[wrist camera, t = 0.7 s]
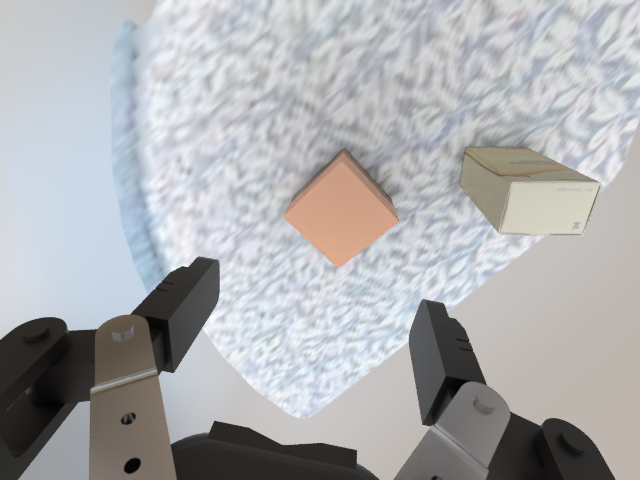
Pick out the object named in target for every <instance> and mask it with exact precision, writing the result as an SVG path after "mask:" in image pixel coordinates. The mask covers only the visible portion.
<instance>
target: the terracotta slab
mask: <svg viewBox="0 0 640 480" xmlns="http://www.w3.org/2000/svg"><path fill="white" fill-rule="evenodd" d="M283 217H284V218H285V219H286V220H287V221H288V222H289V223H290V224H291V225H293V226H294V227H295V228H296V229H297V230H298V231H299V232H300V233H301V234H302V235H303V236H304V237H305V238H306V239H307V240H309V241H310V242H311V243H312V244H313V245H314V246H315V247H316V248H317V249H318V250H319V251H320V252H321V253H322V254H323V255H325V256H326V257H327V258H328V259H329V260H330V261H331V262H332V263H333V264H334V265H335V266H336V267H337V268H338V269H339V268H340V267H341V266H342V265H344V264H345V263H346V262H348V261H349V260H350V259H351V258H353V257H354V256H355V255H357V254H358V253H359V252H360V251H362V250H363V249H364V248H366V247H367V246H368V245H370V244H371V243H372V242H373V241H375V240H376V239H377V238H379V237H380V236H381V235H382V234H384V233H385V232H386V231H388V230H389V229H390V228H391V227H393V226H394V225H395V224H397V223H398V222H399V220H398V216H397V212H396V209H395V207H394V206H393V205H392V204H391V203H390V202H389V201H388V200H387V199H386V198H385V197H384V196H383V195H382V194H381V192H380V191H379V190H378V189H377V188H376V187H375V186H374V185H373V184H372V183H371V182H370V181H369V180H368V178H367V177H366V176H365V175H364V174H363V173H362V172H361V171H360V170H359V169H358V168H357V167H356V166H355V165H354V163H353V162H352V161H351V160H350V159H349V158H348V157H347V156H346V155H345V154H344V153H343V154H342V155H341V156H340V157H339V158H338V159H336V160H335V161H334V162H333V163H332V164H331V165H330V166H329V167H328V168H327V169H326V170H325V171H324V172H323V173H322V174H321V175H320V176H319V177H318V178H317V179H316V180H315V181H314V182H312V183H311V184H310V185H309V186H308V187H307V188H306V189H305V190H304V191H303V192H302V193H301V194H300V195H299V196H298V197H297V198H296V199H295V200H294V201H293V202H292V203H291V204H290V205H289V207H288V208H287V210H286V212H285V214H284V216H283Z"/></svg>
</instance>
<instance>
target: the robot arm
mask: <svg viewBox="0 0 640 480" xmlns="http://www.w3.org/2000/svg"><path fill="white" fill-rule="evenodd" d="M219 292H220V271H219V261H218V260H216V259H210V258H205V257H200V256H199V257H197V258H196V259H195V260H194V261H193V263H192V264H191V265H190V266H189V267H184V266H182V267H180V268H178V269H176V270H174V271H172V272H170V273H169V274H168V276H167V277H166V278H165V279H164V280H163V281H162V283H160V284H159V285H158V286H157V287H156V289H155V290H153V291H152V292H151V293H150V294H149V295H148V296H147V298H145V300H144V301H143V302H142V303H141V304H140V305H139V306H138V307H137V308H136V309H135V310H134V311H133V312H132V313H131V314H130V315H122V316H118V317H115V318H112V319H110V320H108V321H106V322H105V323H103V324H102V325H101V326H100V327H99V328H98V329H95V330H77V331H68V329H67V325H66V323H65V322H64V321H63V320H62V319H59V318H55V317H45V318H39V319H35V320H31V321H28V322H26V323H24V324H21V325H20V326H18V327H16V328H15V329H13V330H12V331H11V332H9V333H8V334H7V335H6V336H5V337H3V338H2V339H1V340H0V480H18V479H19V478H20V476H21V475H22V474H23V472H24V471H25V470H26V469H27V467H28V466H29V465H30V463H31V462H32V461H33V460H34V458H35V457H36V456H37V455H38V453H39V452H40V451H41V449H42V448H43V447H44V446H45V444H46V443H47V442H48V441H49V439H50V438H51V437H52V435H53V434H54V433H55V432H56V430H57V429H58V428H59V427H60V425H61V424H62V423H63V421H64V420H65V419H66V417H67V416H68V415H69V414H70V412H71V411H72V410H73V409H74V407H75V406H76V405H77V404H78V402H83V401H90V448H89V480H379V479H378V478H377V477H376V476H375V475H374V474H373V473H371V472H370V471H369V470H367V469H366V468H364V467H363V466H361V465H359V464H357V450H353V449H348V448H343V447H338V446H333V445H329V444H324V443H316V444H315V443H313V444H298V445H281V444H279V443H277V442H275V441H273V440H271V439H269V438H267V437H266V436H264V435H262V434H260V433H258V432H256V431H254V430H252V429H250V428H247V427H242V426H237V425H232V424H227V423H222V422H218V421H214V423H213V425H212V428H211V430H210V433H202V434H196V435H192V436H189V437H186V438H184V439H182V440H179V441H177V442H175V443H173V444H170V439H169V434H168V428H167V423H166V417H165V412H164V406H163V400H162V395H161V389H160V384H159V378H158V376H159V374H160V373H161V372H162V371H166V372H171V373H174V372H175V370H176V369H177V367H178V365H179V364H180V362H181V361H182V359H183V357H184V356H185V354H186V353H187V351H188V349H189V348H190V346H191V345H192V343H193V342H194V340H195V338H196V337H197V335H198V334H199V332H200V330H201V329H202V327H203V326H204V324H205V322H206V321H207V319H208V318H209V316H210V314H211V313H212V311H213V310H214V308H215V306H216V304H217V302H218V298H219ZM409 348H410V354H411V360H412V365H413V371H414V377H415V383H416V389H417V395H418V400H419V407H420V413H421V419H422V424H423V425H427V426H431V428H430V429H429V430H428V431H427V433H426V434H425V436H424V437H423V439H422V440H421V441H420V443H419V444H418V446H417V447H416V449H415V450H414V451H413V453H412V454H411V456H410V457H409V458H408V460H407V461H406V463H405V464H404V465H403V467H402V468H401V470H400V471H399V473H398V474H397V475H396V477H395V478H394V480H615V478H614V476H613V474H612V473H611V471H610V469H609V467H608V466H607V464H606V462H605V460H604V458H603V457H602V455H601V453H600V451H599V450H598V448H597V447H596V445H595V444H594V443H593V441H592V440H591V439H590V438H589V437H588V436H587V435H585V433H584V432H582V431H581V430H580V429H578V428H577V427H575V426H574V425H572V424H570V423H568V422H566V421H564V420H561V419H556V418H550V419H547V420H545V421H544V423H543V424H542V425H541V426H539V425H537V424H535V423H533V422H531V421H529V420H527V419H524V418H522V417H520V416H518V415H516V414H514V413H512V412H511V411H510V410H509V407H508V405H507V404H506V402H505V400H504V399H503V398H502V397H501V396H500V395H499V394H498V393H497V392H496V391H495V390H493V389H492V388H490V387H488V386H487V384H486V381H485V379H484V377H483V374H482V371H481V369H480V366H479V364H478V361H477V359H476V356H475V354H474V352H473V349H472V346H471V343H469V338H468V336H467V333H466V331H465V329H464V328H463V327H462V326H461V324H460V323H459V322H458V321H457V320H456V319H454V318H449V316H448V314H447V311H446V308H445V305H444V304H443V303H440V302H435V301H430V300H425V299H423V300H422V301H421V303H420V305H419V308H418V310H417V313H416V316H415V319H414V321H413V324H412V327H411V330H410V334H409ZM11 405H12V406H11ZM10 406H11V407H10ZM9 407H10V408H9ZM8 408H9V409H8ZM7 409H8V410H7Z"/></svg>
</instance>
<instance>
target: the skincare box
mask: <svg viewBox="0 0 640 480" xmlns="http://www.w3.org/2000/svg"><path fill="white" fill-rule="evenodd" d="M459 185H460V186H461V188H462V189H463V190H464V191H465V192H466V194H467V195H468V196H469V197H470V199H471V200H472V201H473V202H474V203H475V205H476V206H477V207H478V208H479V210H480V211H481V212H482V213H483V214H484V216H485V217H486V218H487V219H488V221H489V222H490V223H491V224H492V225H493V227H494V228H495V229H496V230H497V232H498V233H499V234H502V235H527V236H583V235H584V232H585V229H586V228H587V225H588V222H589V220H590V217H591V214H592V212H593V209H594V206H595V204H596V201H597V198H598V195H599V193H600V190H601V187H602V183H600V182H598V181H596V180H594V179H591V178H589V177H587V176H585V175H583V174H581V173H579V172H577V171H575V170H572V169H570V168H568V167H566V166H564V165H562V164H560V163H558V162H556V161H554V160H551V159H549V158H547V157H545V156H543V155H541V154H539V153H537V152H535V151H533V150H531V149H529V148H526V147H467V148H466V150H465V155H464V160H463V166H462V171H461V177H460V183H459Z"/></svg>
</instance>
